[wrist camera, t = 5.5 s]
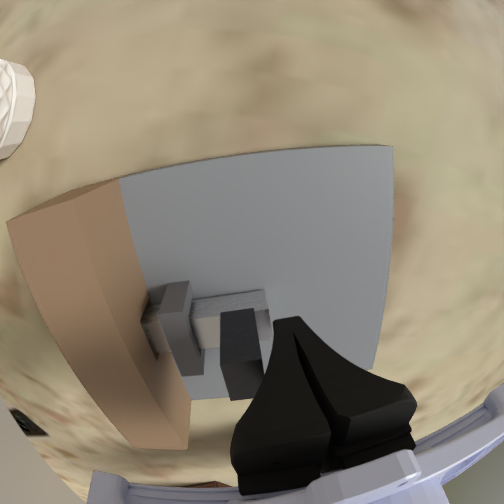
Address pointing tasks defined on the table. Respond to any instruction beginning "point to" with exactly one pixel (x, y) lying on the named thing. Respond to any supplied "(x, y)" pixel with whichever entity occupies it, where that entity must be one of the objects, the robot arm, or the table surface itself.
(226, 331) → the bolt
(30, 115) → the white cup
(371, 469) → the robot arm
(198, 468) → the table surface
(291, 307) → the door and jamb
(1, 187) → the table surface
